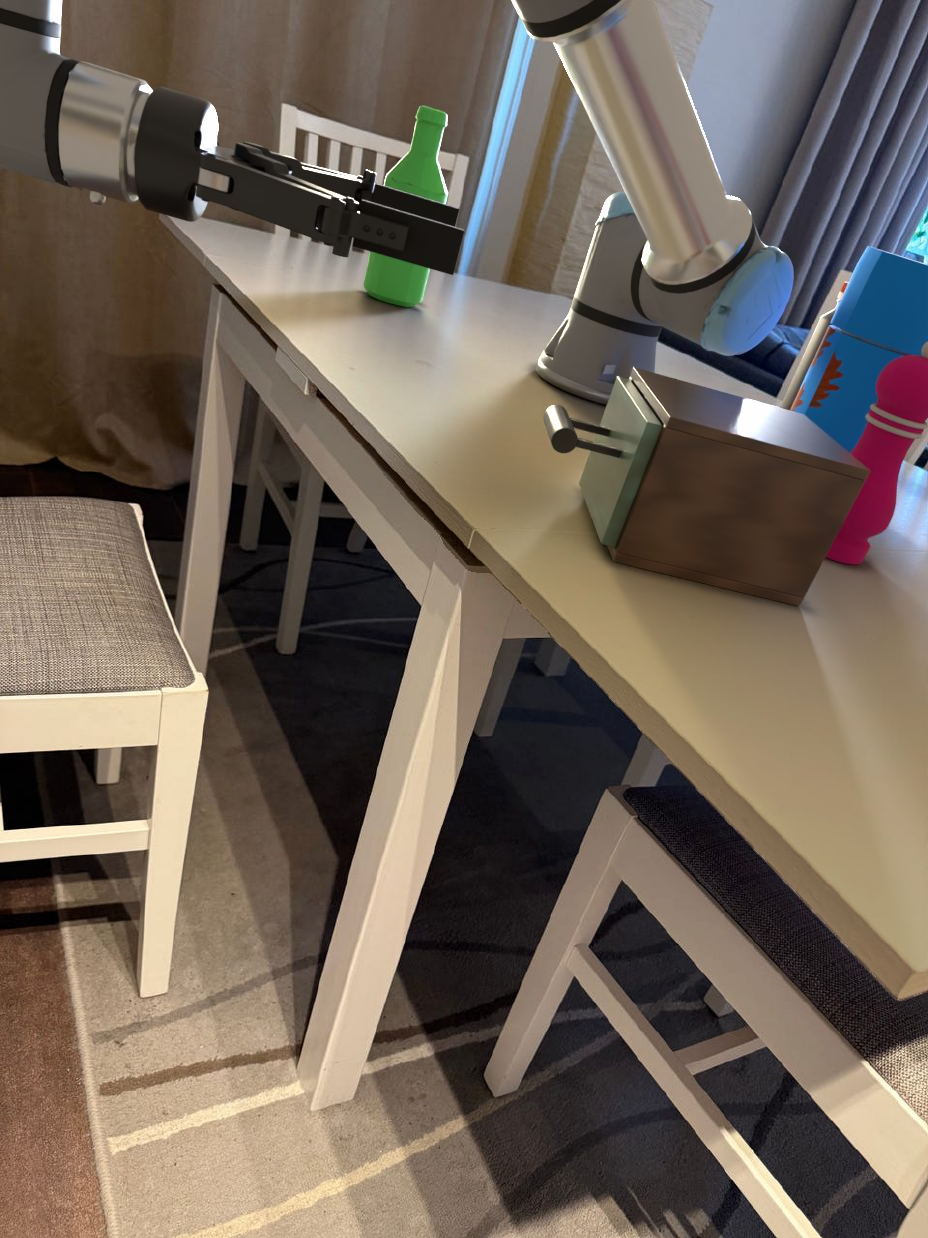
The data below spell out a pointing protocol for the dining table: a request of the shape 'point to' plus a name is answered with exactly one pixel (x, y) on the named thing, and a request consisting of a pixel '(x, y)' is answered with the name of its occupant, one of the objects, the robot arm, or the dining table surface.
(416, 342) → the dining table surface
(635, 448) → the drawer
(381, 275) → the bottle
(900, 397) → the pepper mill
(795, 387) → the vinegar
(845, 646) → the dining table surface
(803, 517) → the drawer box
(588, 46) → the robot arm
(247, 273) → the dining table surface
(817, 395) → the blue carton
